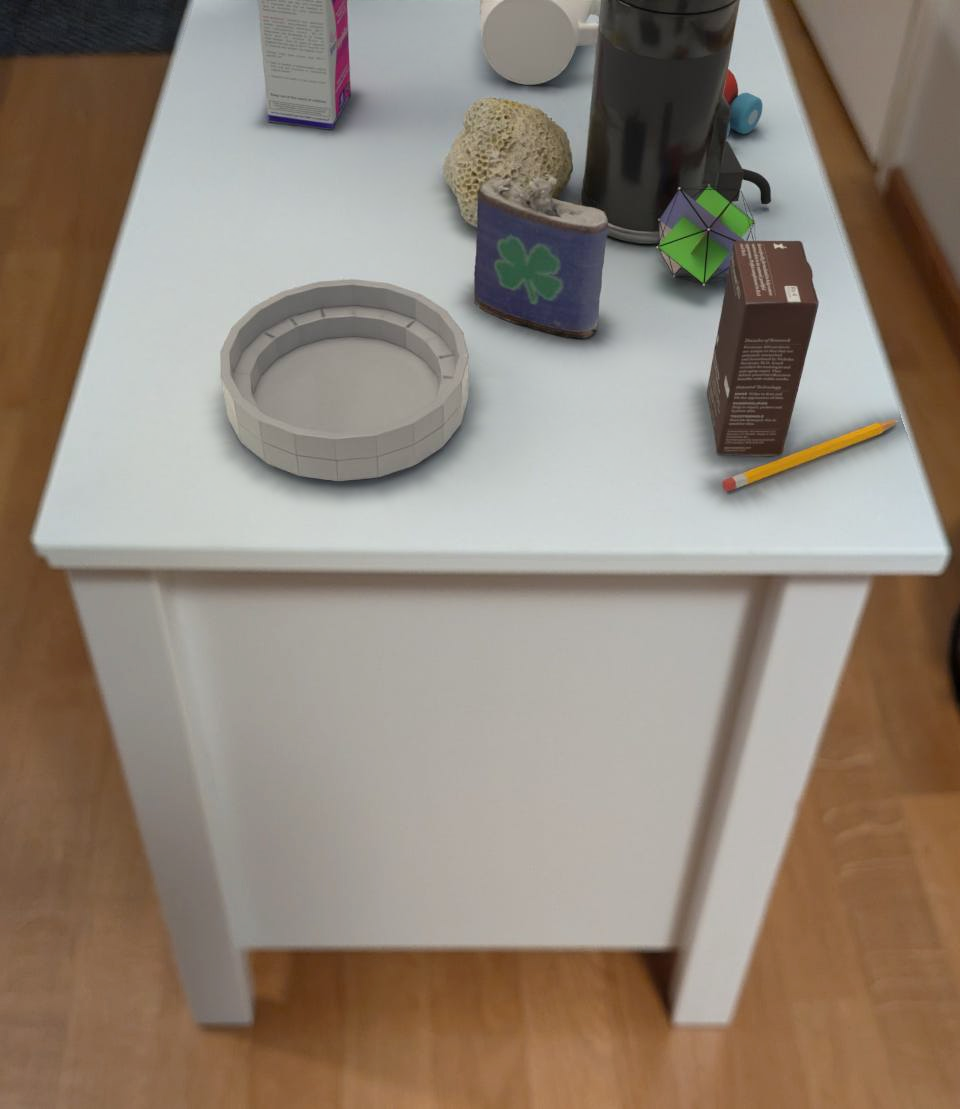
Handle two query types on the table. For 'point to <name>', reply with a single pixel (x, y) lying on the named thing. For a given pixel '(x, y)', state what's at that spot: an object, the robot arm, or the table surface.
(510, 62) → the mug
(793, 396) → the box
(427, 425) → the bowl
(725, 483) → the pencil
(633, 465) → the table surface
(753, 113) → the toy car
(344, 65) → the supplement box
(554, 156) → the decorative item
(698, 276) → the geometric puzzle
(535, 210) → the flask
